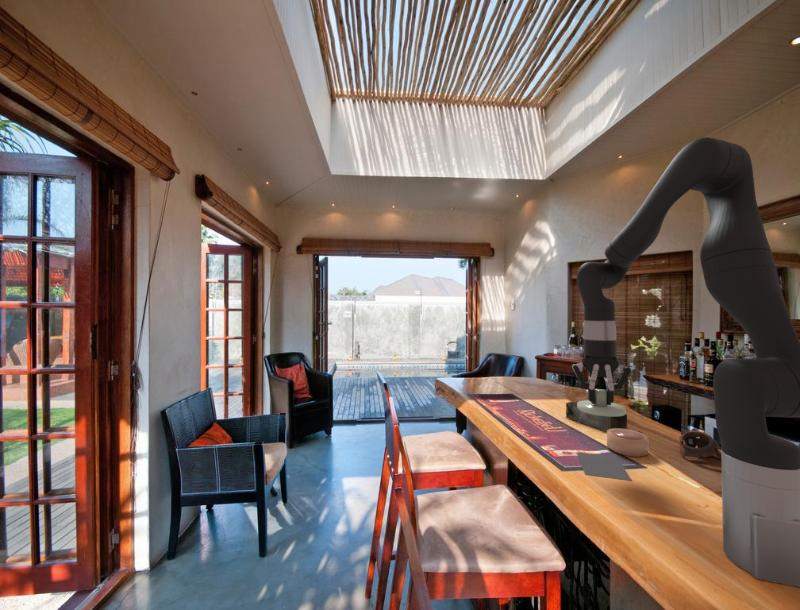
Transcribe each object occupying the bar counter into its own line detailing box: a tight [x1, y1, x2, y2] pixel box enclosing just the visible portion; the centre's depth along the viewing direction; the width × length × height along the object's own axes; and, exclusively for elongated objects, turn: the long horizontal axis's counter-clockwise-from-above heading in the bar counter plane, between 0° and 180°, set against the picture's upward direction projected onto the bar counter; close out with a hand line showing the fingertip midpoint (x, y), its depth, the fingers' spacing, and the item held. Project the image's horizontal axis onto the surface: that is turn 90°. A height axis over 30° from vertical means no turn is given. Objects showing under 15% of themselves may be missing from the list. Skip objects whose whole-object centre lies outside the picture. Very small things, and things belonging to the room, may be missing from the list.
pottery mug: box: [678, 429, 722, 461], centre depth 96 cm, size 12×10×8 cm
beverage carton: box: [565, 400, 628, 433], centre depth 123 cm, size 8×19×7 cm, turn 21°
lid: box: [576, 388, 627, 417], centre depth 90 cm, size 11×11×5 cm
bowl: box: [606, 428, 649, 458], centre depth 99 cm, size 10×10×5 cm
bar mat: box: [576, 451, 633, 482], centre depth 90 cm, size 14×10×1 cm
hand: (600, 403), depth 90 cm, fingers closed on lid, 3 cm apart
